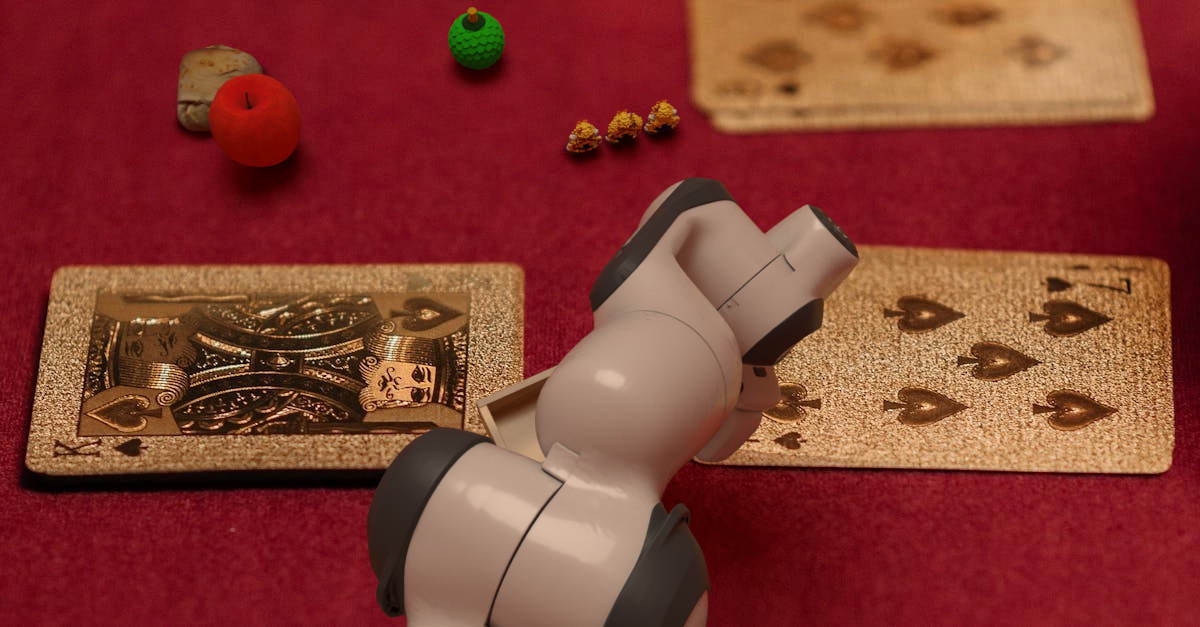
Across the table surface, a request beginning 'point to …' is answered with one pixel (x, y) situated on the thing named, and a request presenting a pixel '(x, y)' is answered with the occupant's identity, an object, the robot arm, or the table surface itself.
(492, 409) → the beige open tray
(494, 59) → the ornament
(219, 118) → the apple
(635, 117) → the figurine set
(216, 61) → the pastry
